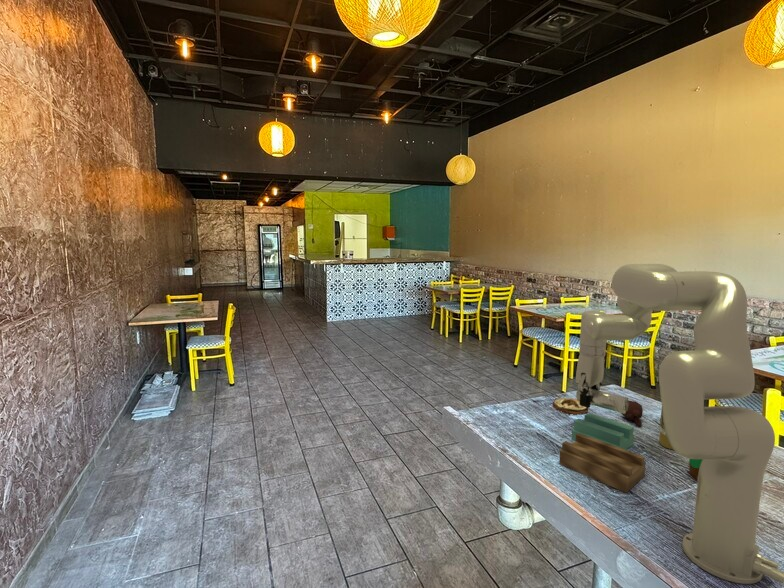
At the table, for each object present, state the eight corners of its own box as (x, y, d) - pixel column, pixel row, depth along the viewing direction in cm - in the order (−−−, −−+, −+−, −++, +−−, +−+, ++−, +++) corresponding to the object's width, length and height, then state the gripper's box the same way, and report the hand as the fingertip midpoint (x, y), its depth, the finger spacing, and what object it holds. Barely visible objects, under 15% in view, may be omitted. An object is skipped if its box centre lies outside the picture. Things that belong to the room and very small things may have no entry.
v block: (633, 444, 129) (635, 426, 128) (617, 456, 121) (618, 437, 121) (589, 428, 140) (590, 412, 139) (571, 439, 132) (572, 421, 131)
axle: (628, 412, 126) (629, 396, 126) (621, 415, 123) (622, 398, 123) (583, 400, 137) (584, 385, 137) (575, 402, 134) (576, 387, 133)
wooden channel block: (644, 476, 111) (646, 455, 111) (626, 493, 104) (628, 470, 103) (579, 450, 125) (580, 431, 124) (559, 463, 118) (560, 444, 117)
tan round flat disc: (589, 404, 162) (589, 394, 161) (593, 419, 148) (594, 408, 147) (549, 399, 167) (549, 389, 166) (550, 413, 153) (550, 403, 152)
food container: (685, 461, 119) (688, 428, 117) (712, 469, 115) (716, 435, 114) (682, 480, 109) (685, 445, 108) (711, 489, 105) (714, 452, 104)
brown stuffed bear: (612, 393, 155) (625, 412, 141) (634, 390, 153) (649, 409, 139) (616, 410, 156) (628, 431, 142) (637, 407, 154) (652, 428, 140)
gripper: (592, 343, 139) (589, 394, 141) (567, 351, 128) (564, 407, 131) (616, 347, 133) (612, 401, 136) (591, 357, 122) (588, 414, 125)
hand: (589, 403), depth 133 cm, fingers closed on axle, 5 cm apart
